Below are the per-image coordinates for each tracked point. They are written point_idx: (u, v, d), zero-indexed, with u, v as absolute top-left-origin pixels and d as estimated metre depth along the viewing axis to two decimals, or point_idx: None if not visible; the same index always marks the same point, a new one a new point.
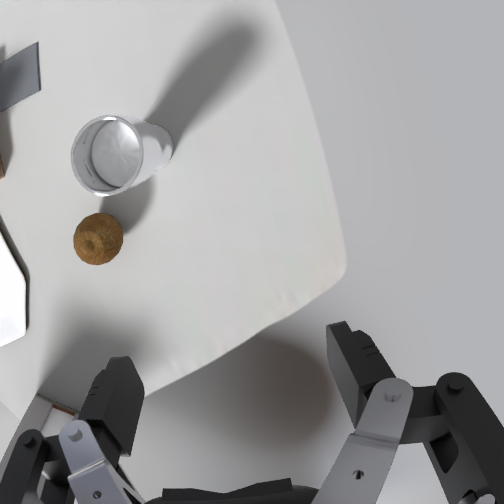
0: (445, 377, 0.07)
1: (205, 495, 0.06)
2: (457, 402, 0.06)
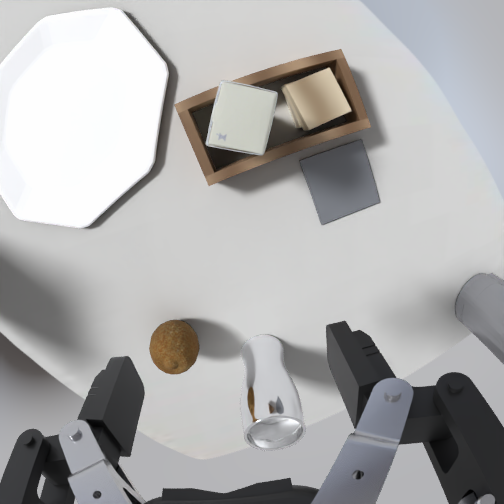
0: (445, 377, 0.07)
1: (205, 495, 0.06)
2: (457, 402, 0.06)
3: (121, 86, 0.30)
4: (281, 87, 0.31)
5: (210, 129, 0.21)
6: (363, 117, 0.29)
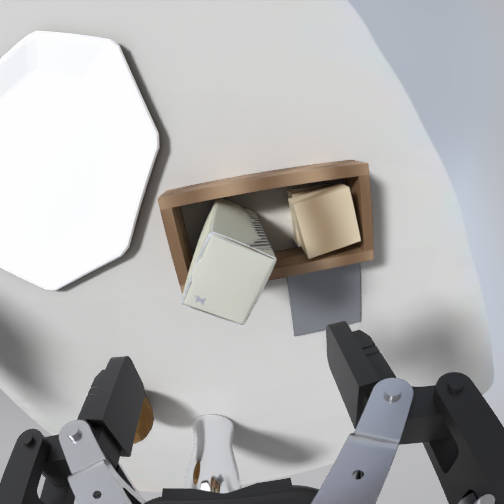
0: (445, 377, 0.07)
1: (205, 495, 0.06)
2: (457, 402, 0.06)
3: (104, 146, 0.26)
4: (288, 191, 0.29)
5: (187, 288, 0.18)
6: (368, 248, 0.28)
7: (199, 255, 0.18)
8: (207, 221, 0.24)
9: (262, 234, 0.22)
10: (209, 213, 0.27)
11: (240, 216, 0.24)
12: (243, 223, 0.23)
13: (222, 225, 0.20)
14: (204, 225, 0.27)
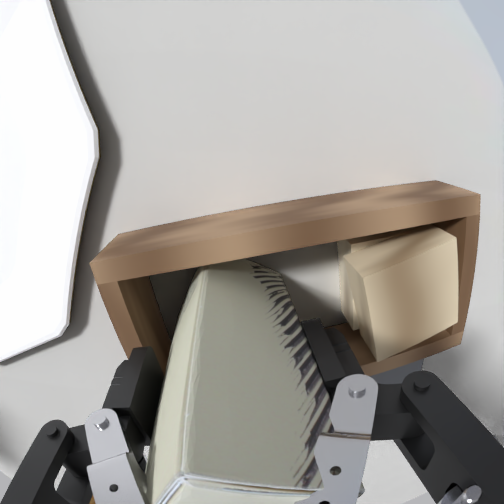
0: (410, 376, 0.08)
1: None
2: (426, 400, 0.07)
3: (18, 158, 0.13)
4: None
5: None
6: (458, 330, 0.15)
7: (159, 501, 0.05)
8: (185, 323, 0.11)
9: (311, 372, 0.09)
10: (193, 284, 0.14)
11: (256, 309, 0.11)
12: (266, 342, 0.09)
13: (218, 398, 0.06)
14: (183, 311, 0.13)
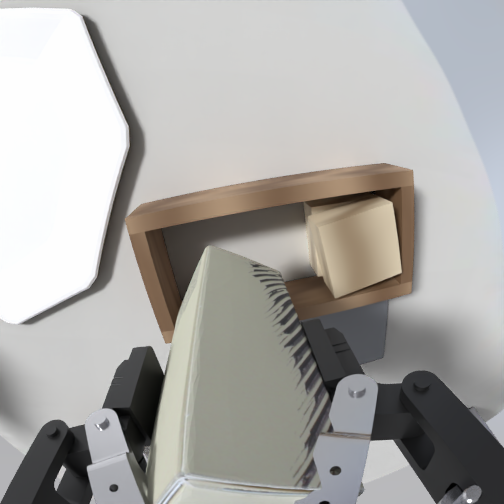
0: (410, 376, 0.08)
1: None
2: (426, 400, 0.07)
3: (61, 147, 0.19)
4: (304, 202, 0.22)
5: None
6: (406, 280, 0.21)
7: (160, 501, 0.05)
8: (185, 322, 0.11)
9: (311, 371, 0.09)
10: (193, 283, 0.14)
11: (256, 308, 0.11)
12: (266, 342, 0.10)
13: (218, 398, 0.06)
14: (183, 310, 0.13)
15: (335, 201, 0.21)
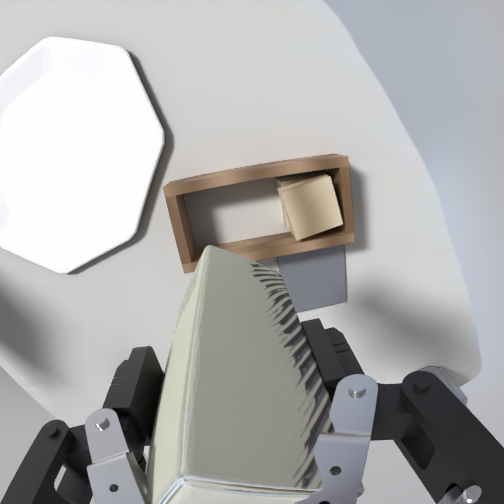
0: (410, 376, 0.08)
1: None
2: (426, 400, 0.07)
3: (114, 142, 0.30)
4: (277, 180, 0.33)
5: None
6: (349, 231, 0.32)
7: (159, 501, 0.05)
8: (185, 322, 0.11)
9: (311, 371, 0.09)
10: (192, 282, 0.14)
11: (255, 308, 0.11)
12: (266, 342, 0.09)
13: (217, 398, 0.06)
14: (183, 310, 0.13)
15: (297, 178, 0.32)
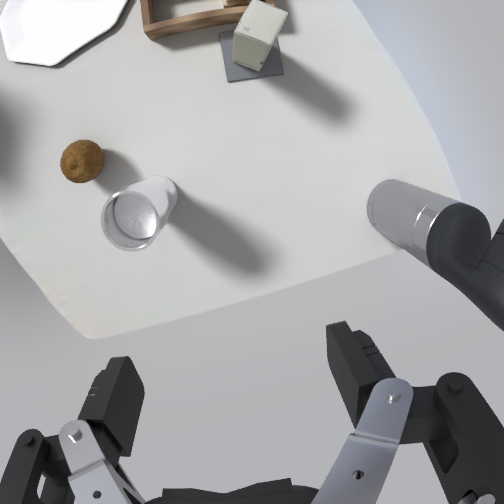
0: (445, 377, 0.07)
1: (205, 495, 0.06)
2: (457, 402, 0.06)
3: None
4: None
5: (239, 23, 0.26)
6: (270, 2, 0.32)
7: (247, 8, 0.26)
8: None
9: None
10: None
11: None
12: None
13: None
14: None
15: None
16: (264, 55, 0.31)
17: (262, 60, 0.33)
